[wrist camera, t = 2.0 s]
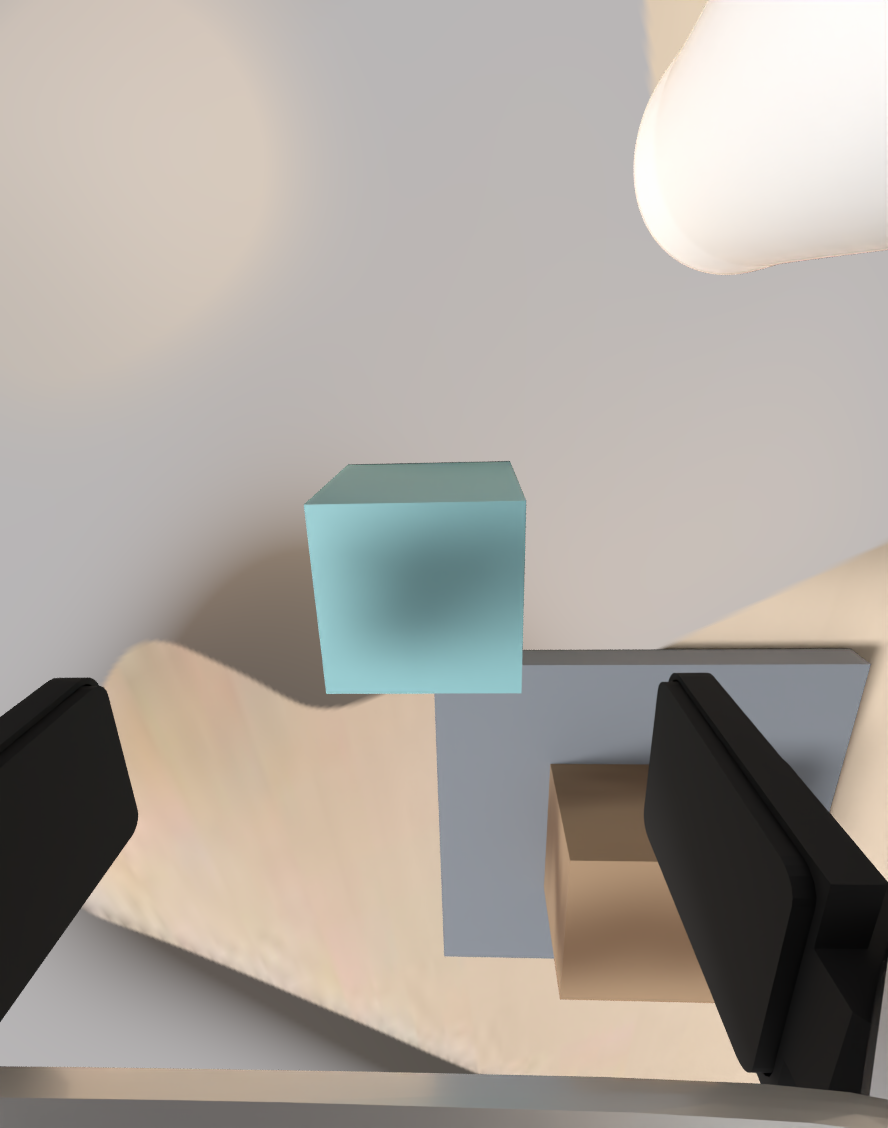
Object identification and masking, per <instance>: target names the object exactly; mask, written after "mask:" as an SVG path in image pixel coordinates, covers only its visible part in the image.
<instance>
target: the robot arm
mask: <svg viewBox="0 0 888 1128" xmlns="http://www.w3.org/2000/svg"><path fill="white" fill-rule="evenodd" d="M137 821H138V810H137V806H136V802H135V798H134V794H133V790H132V786H131V783H130V779H129V775H128V771H127V767H126V763H125V759H124V755H123V751H122V748H121V744H120V740H119V736H118V732H117V728H116V724H115V720H114V716H113V712H112V709H111V705H110V701H109V697H108V694H107V691H106V690H105V689H104V688H103V687H101V686H99V685H98V683H97V682H96V681H95V680H94V679H92V678H54V679H52V680H50V681H48V682H46V683H45V684H44V685H42V686H41V687H40V688H38V689H37V690H36V691H34V692H33V693H32V694H30V695H29V696H28V697H26V698H25V699H24V700H22V701H21V702H20V703H18V704H17V705H16V706H14V707H13V708H12V709H10V710H9V711H8V712H6V713H5V714H4V715H2V716H1V717H0V1022H1V1020H2V1019H3V1017H4V1016H5V1014H6V1013H7V1012H8V1010H9V1009H10V1007H11V1006H12V1005H13V1003H14V1002H15V1000H16V999H17V998H18V996H19V995H20V993H21V992H22V990H23V989H24V988H25V986H26V985H27V983H28V982H29V981H30V979H31V978H32V976H33V975H34V974H35V972H36V971H37V969H38V968H39V967H40V965H41V964H42V962H43V961H44V959H45V958H46V957H47V955H48V954H49V952H50V951H51V949H52V948H53V947H54V945H55V944H56V942H57V941H58V940H59V938H60V937H61V935H62V934H63V933H64V931H65V930H66V928H67V927H68V926H69V924H70V923H71V921H72V920H73V918H74V917H75V916H76V914H77V913H78V911H79V910H80V909H81V907H82V906H83V904H84V903H85V902H86V900H87V899H88V897H89V896H90V894H91V893H92V892H93V890H94V889H95V887H96V886H97V885H98V883H99V882H100V880H101V879H102V877H103V876H104V875H105V873H106V872H107V870H108V869H109V868H110V866H111V865H112V863H113V862H114V861H115V859H116V858H117V856H118V855H119V853H120V852H121V851H122V849H123V848H124V846H125V845H126V844H127V842H128V841H129V839H130V838H131V837H132V835H133V833H134V831H135V829H136V826H137ZM644 825H645V830H646V833H647V836H648V839H649V842H650V844H651V846H652V849H653V851H654V854H655V856H656V859H657V861H658V864H659V866H660V869H661V871H662V874H663V876H664V879H665V881H666V884H667V886H668V888H669V891H670V893H671V896H672V898H673V901H674V903H675V906H676V908H677V911H678V913H679V916H680V918H681V921H682V923H683V926H684V928H685V930H686V933H687V935H688V938H689V940H690V943H691V945H692V948H693V950H694V953H695V955H696V958H697V960H698V963H699V965H700V968H701V970H702V973H703V975H704V977H705V980H706V982H707V985H708V987H709V990H710V992H711V995H712V997H713V1000H714V1002H715V1005H716V1007H717V1010H718V1012H719V1015H720V1017H721V1019H722V1022H723V1024H724V1027H725V1029H726V1032H727V1034H728V1037H729V1039H730V1042H731V1044H732V1047H733V1049H734V1052H735V1054H736V1056H737V1058H738V1060H739V1063H740V1064H741V1066H742V1067H743V1069H744V1070H745V1071H746V1072H753V1073H757V1076H758V1078H759V1080H760V1083H761V1084H753V1083H729V1082H706V1081H683V1080H659V1079H636V1078H612V1077H576V1076H531V1075H486V1074H442V1073H397V1072H396V1073H395V1072H348V1071H347V1072H346V1071H289V1070H287V1071H286V1070H230V1069H227V1070H226V1069H165V1068H99V1067H97V1068H96V1067H94V1068H93V1067H5V1066H4V1067H1V1066H0V1128H888V882H887V881H886V879H885V878H884V877H883V876H882V875H881V873H880V872H879V871H878V870H877V869H876V867H875V866H874V865H873V864H872V863H871V862H870V860H869V859H868V858H867V857H866V856H865V854H864V853H863V852H862V851H861V850H860V848H859V847H858V846H857V845H856V844H855V842H854V841H853V840H852V839H851V838H850V837H849V835H848V834H847V833H846V832H845V831H844V829H843V828H842V827H841V826H840V825H839V823H838V822H837V821H836V820H835V819H834V817H833V816H832V815H831V814H830V813H829V812H828V810H827V809H826V808H825V807H824V806H823V804H822V803H821V802H820V801H819V800H818V798H817V797H816V796H815V795H814V794H813V792H812V791H811V790H810V789H809V788H808V787H807V785H806V784H805V783H804V782H803V781H802V779H801V778H800V777H799V776H798V775H797V773H796V772H795V771H794V770H793V769H792V767H791V766H790V765H789V764H788V763H787V762H786V761H785V760H784V759H782V757H781V756H780V755H779V754H778V753H777V751H776V750H775V749H774V748H773V747H772V745H771V744H770V743H769V742H768V741H767V739H766V738H765V737H764V736H763V735H762V733H761V732H760V731H759V730H758V729H757V727H756V726H755V725H754V724H753V723H752V721H751V720H750V719H749V718H748V717H747V715H746V714H745V713H744V712H743V711H742V710H741V708H740V707H739V706H738V705H737V704H736V702H735V701H734V700H733V699H732V698H731V696H730V695H729V694H728V693H727V692H726V690H725V689H724V688H723V687H722V686H721V684H720V683H719V682H718V681H717V680H716V678H715V677H714V676H713V675H712V674H710V673H673V674H672V675H671V676H670V678H669V682H661V683H660V684H659V686H658V692H657V700H656V709H655V717H654V726H653V735H652V743H651V752H650V761H649V769H648V778H647V787H646V795H645V804H644Z"/></svg>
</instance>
